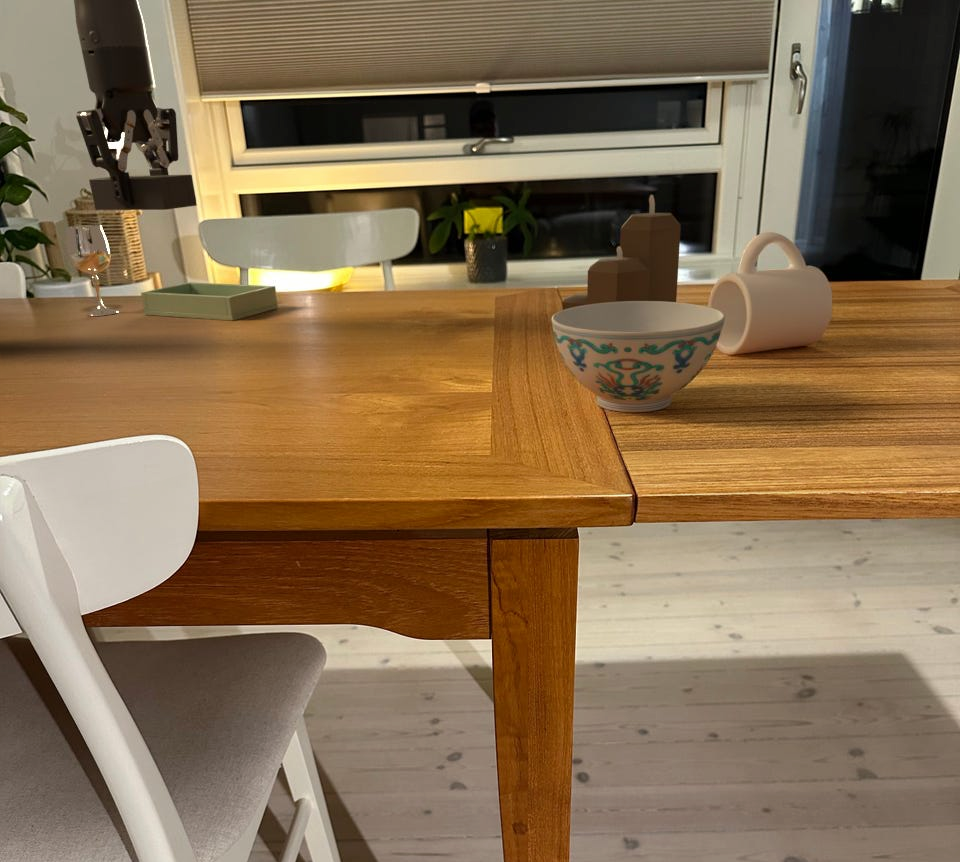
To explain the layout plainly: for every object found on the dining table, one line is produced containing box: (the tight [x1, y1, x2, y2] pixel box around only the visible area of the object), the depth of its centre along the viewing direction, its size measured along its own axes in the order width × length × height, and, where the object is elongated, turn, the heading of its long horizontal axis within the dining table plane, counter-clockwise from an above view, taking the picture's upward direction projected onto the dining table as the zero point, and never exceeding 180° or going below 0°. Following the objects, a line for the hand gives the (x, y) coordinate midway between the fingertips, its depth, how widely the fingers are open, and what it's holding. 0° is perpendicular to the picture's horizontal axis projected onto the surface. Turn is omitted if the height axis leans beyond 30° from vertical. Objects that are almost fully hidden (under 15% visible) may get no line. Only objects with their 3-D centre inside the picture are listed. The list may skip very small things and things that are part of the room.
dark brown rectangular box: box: [88, 174, 198, 211], centre depth 119 cm, size 12×6×4 cm, turn 62°
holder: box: [140, 281, 279, 322], centre depth 140 cm, size 17×10×3 cm, turn 63°
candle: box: [561, 194, 682, 311], centre depth 113 cm, size 14×14×15 cm
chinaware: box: [551, 301, 725, 413], centre depth 86 cm, size 15×15×8 cm
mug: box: [707, 231, 834, 356], centre depth 102 cm, size 8×10×12 cm
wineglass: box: [66, 224, 119, 317], centre depth 140 cm, size 6×6×12 cm
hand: (145, 202), depth 120 cm, fingers closed on dark brown rectangular box, 5 cm apart
